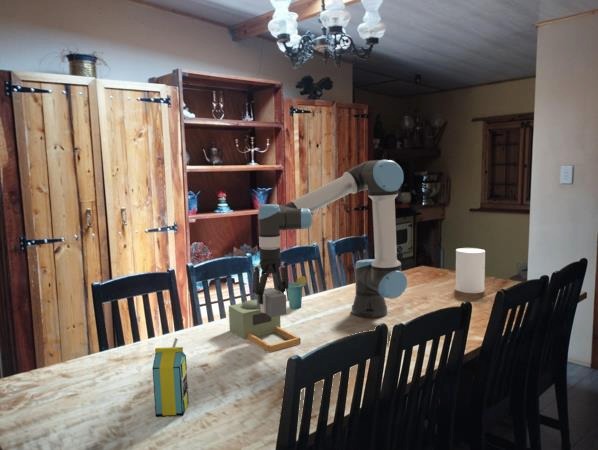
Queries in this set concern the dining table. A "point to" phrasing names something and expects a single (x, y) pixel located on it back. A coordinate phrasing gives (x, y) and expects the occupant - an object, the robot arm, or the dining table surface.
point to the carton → (170, 381)
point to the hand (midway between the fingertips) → (271, 310)
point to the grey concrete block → (274, 302)
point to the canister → (470, 270)
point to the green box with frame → (257, 325)
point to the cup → (296, 292)
